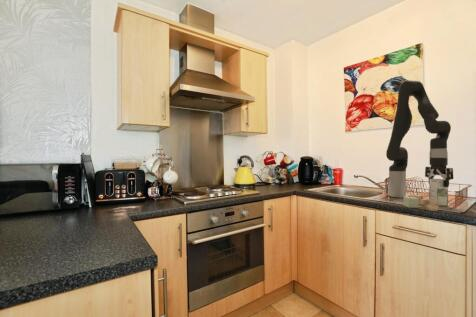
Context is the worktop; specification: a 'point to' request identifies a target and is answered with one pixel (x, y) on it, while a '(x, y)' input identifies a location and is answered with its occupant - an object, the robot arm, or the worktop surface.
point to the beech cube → (429, 204)
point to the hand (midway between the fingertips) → (438, 186)
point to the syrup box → (438, 191)
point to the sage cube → (411, 202)
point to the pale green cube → (417, 197)
